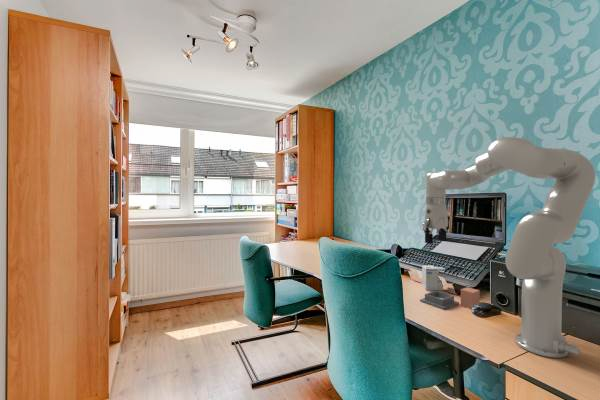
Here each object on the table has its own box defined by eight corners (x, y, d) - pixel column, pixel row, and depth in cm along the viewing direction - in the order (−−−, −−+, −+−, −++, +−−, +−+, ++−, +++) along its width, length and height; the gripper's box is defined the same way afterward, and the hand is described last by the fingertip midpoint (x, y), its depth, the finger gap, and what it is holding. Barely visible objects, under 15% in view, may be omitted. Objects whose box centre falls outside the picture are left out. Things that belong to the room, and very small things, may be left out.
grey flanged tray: (459, 303, 125) (459, 296, 125) (443, 309, 119) (443, 301, 119) (435, 296, 134) (435, 289, 134) (419, 301, 128) (419, 293, 128)
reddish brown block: (479, 307, 121) (479, 290, 121) (473, 310, 119) (473, 292, 118) (467, 303, 125) (467, 287, 125) (460, 306, 123) (460, 289, 123)
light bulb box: (443, 286, 148) (443, 264, 147) (449, 290, 141) (449, 268, 140) (421, 286, 149) (421, 264, 148) (425, 290, 142) (425, 268, 142)
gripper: (431, 202, 117) (431, 245, 118) (455, 201, 126) (455, 240, 127) (415, 202, 123) (415, 242, 124) (439, 200, 133) (439, 238, 133)
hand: (435, 241), depth 125 cm, fingers open, 9 cm apart
